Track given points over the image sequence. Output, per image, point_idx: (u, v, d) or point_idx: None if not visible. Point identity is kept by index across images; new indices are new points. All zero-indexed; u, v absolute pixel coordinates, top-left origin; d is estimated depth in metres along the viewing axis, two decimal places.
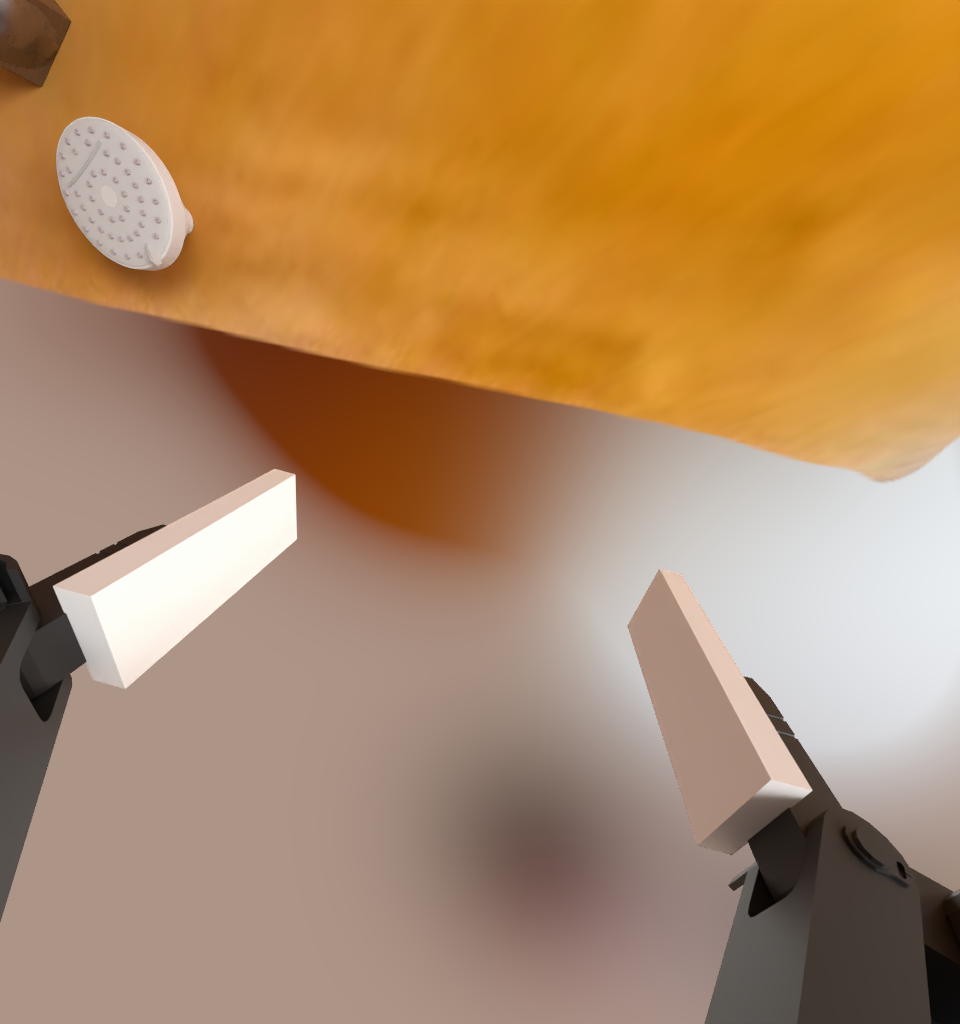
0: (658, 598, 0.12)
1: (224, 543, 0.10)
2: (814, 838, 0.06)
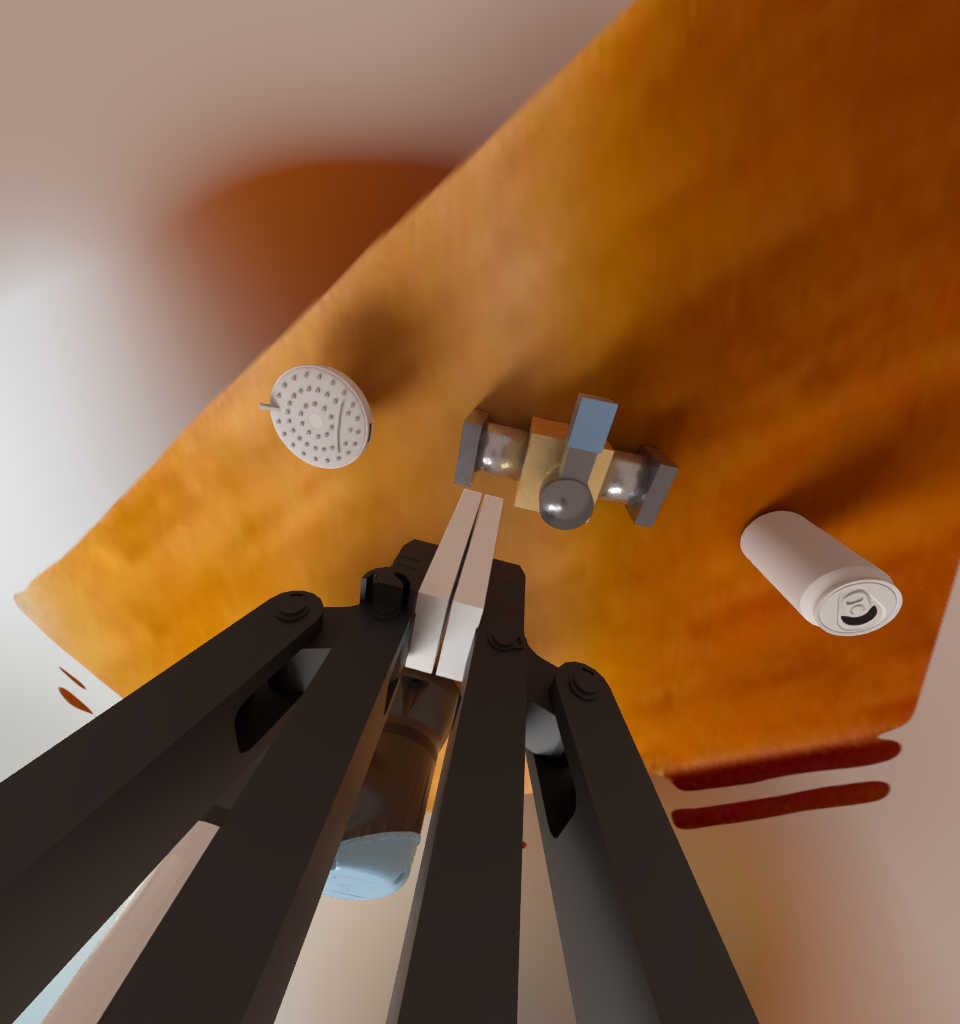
0: None
1: (464, 554, 0.12)
2: (472, 653, 0.08)
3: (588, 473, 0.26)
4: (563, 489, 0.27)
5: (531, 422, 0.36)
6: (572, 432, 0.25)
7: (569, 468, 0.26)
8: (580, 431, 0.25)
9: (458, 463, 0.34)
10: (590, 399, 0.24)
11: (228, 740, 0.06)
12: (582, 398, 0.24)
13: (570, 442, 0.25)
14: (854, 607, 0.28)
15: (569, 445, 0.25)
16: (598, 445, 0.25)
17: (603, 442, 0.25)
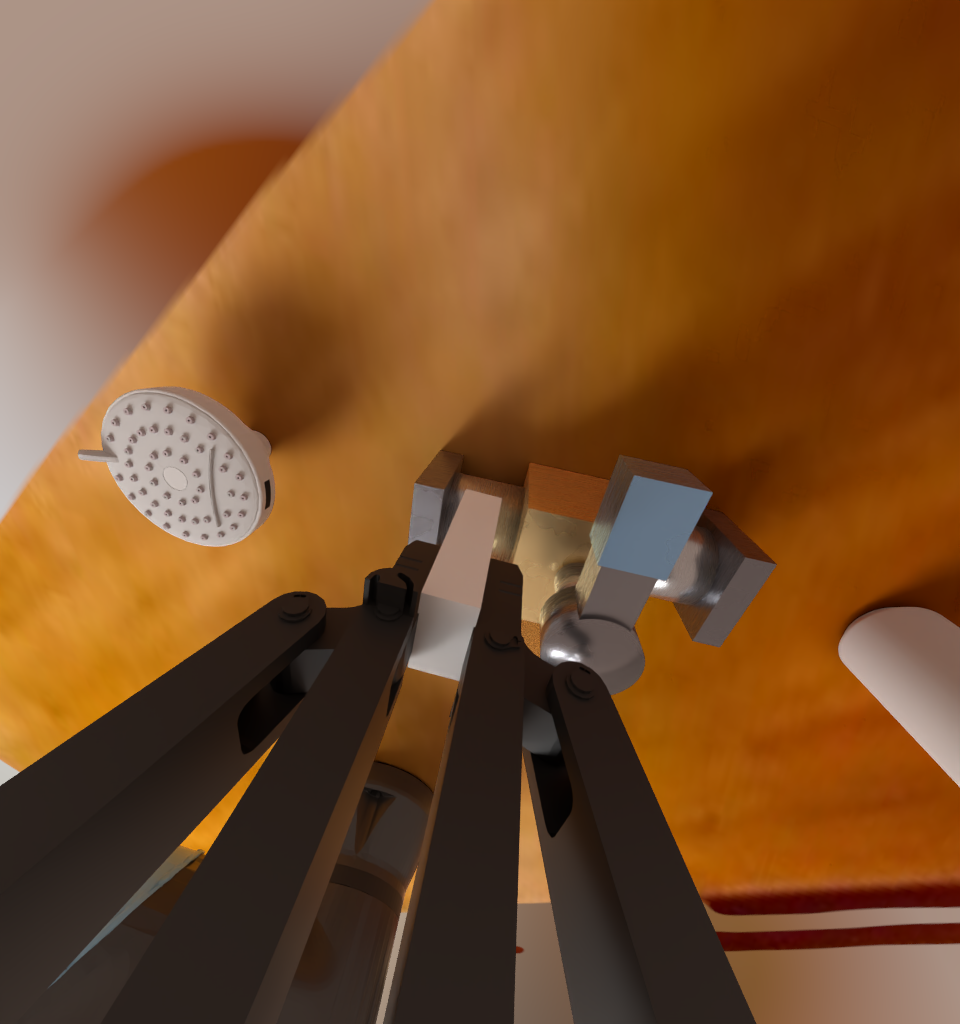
0: None
1: None
2: (468, 653, 0.08)
3: (636, 610, 0.13)
4: (587, 636, 0.14)
5: (527, 473, 0.23)
6: (608, 540, 0.12)
7: (598, 601, 0.13)
8: (625, 539, 0.12)
9: None
10: (651, 479, 0.11)
11: (231, 740, 0.06)
12: (633, 477, 0.11)
13: (604, 558, 0.12)
14: None
15: (601, 563, 0.13)
16: (661, 566, 0.12)
17: (672, 561, 0.12)
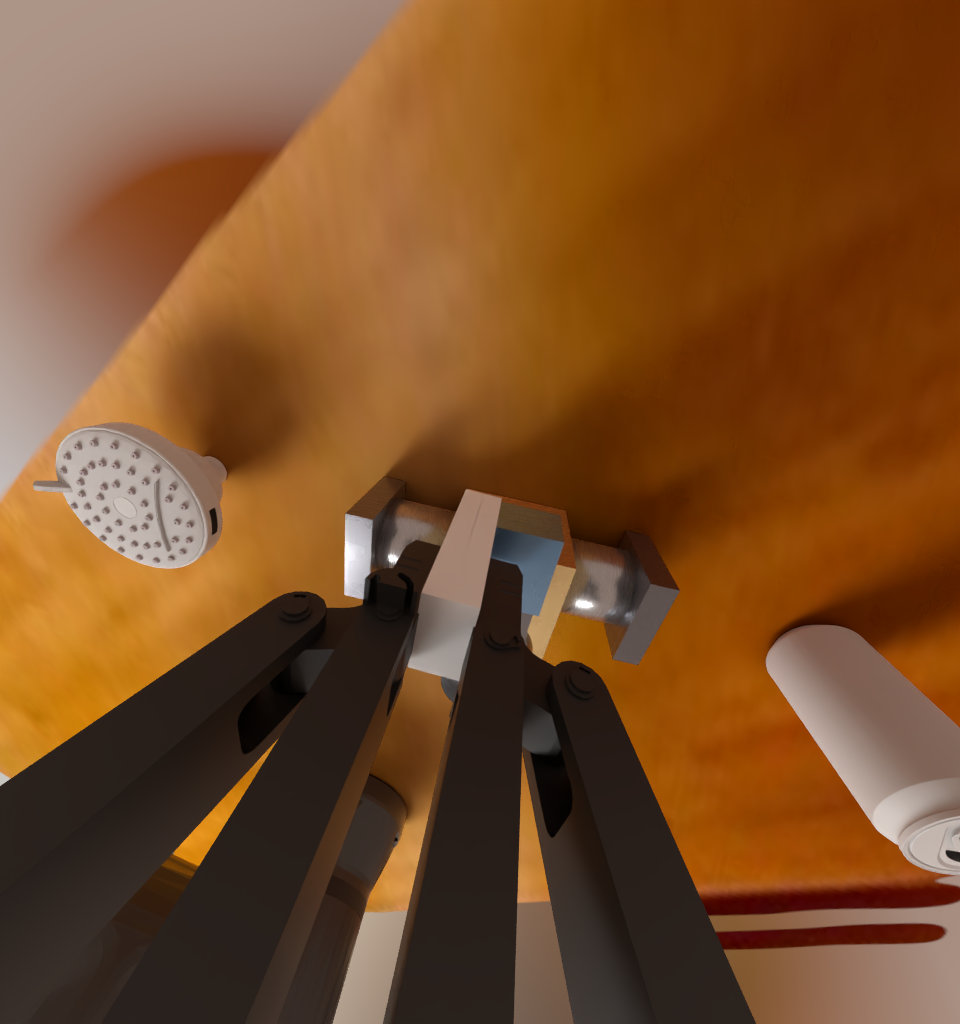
0: None
1: None
2: (468, 653, 0.08)
3: None
4: None
5: None
6: None
7: None
8: None
9: (346, 569, 0.22)
10: (511, 530, 0.12)
11: (231, 740, 0.06)
12: (496, 528, 0.12)
13: None
14: None
15: None
16: (532, 603, 0.14)
17: (541, 599, 0.14)
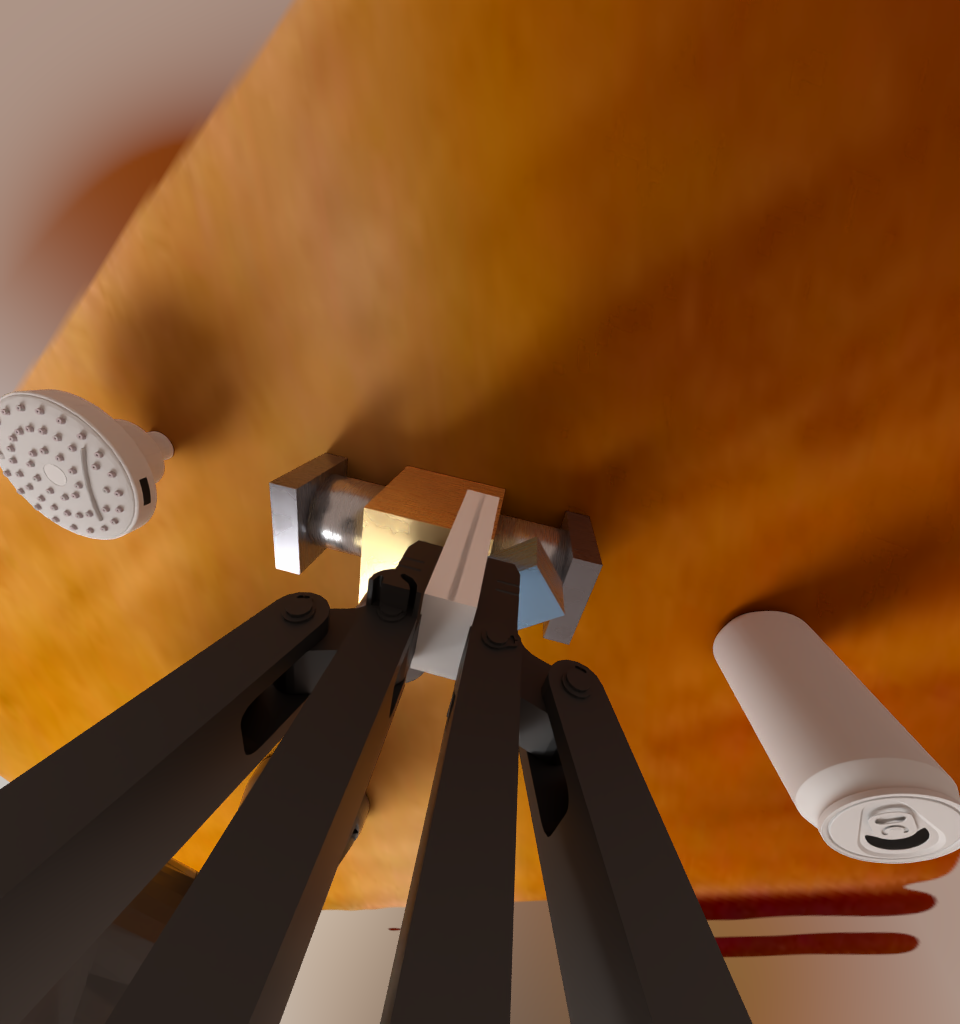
0: None
1: None
2: (465, 652, 0.08)
3: None
4: None
5: None
6: None
7: None
8: None
9: (275, 541, 0.22)
10: (542, 576, 0.13)
11: (234, 741, 0.06)
12: (534, 566, 0.13)
13: None
14: (889, 827, 0.16)
15: None
16: None
17: None
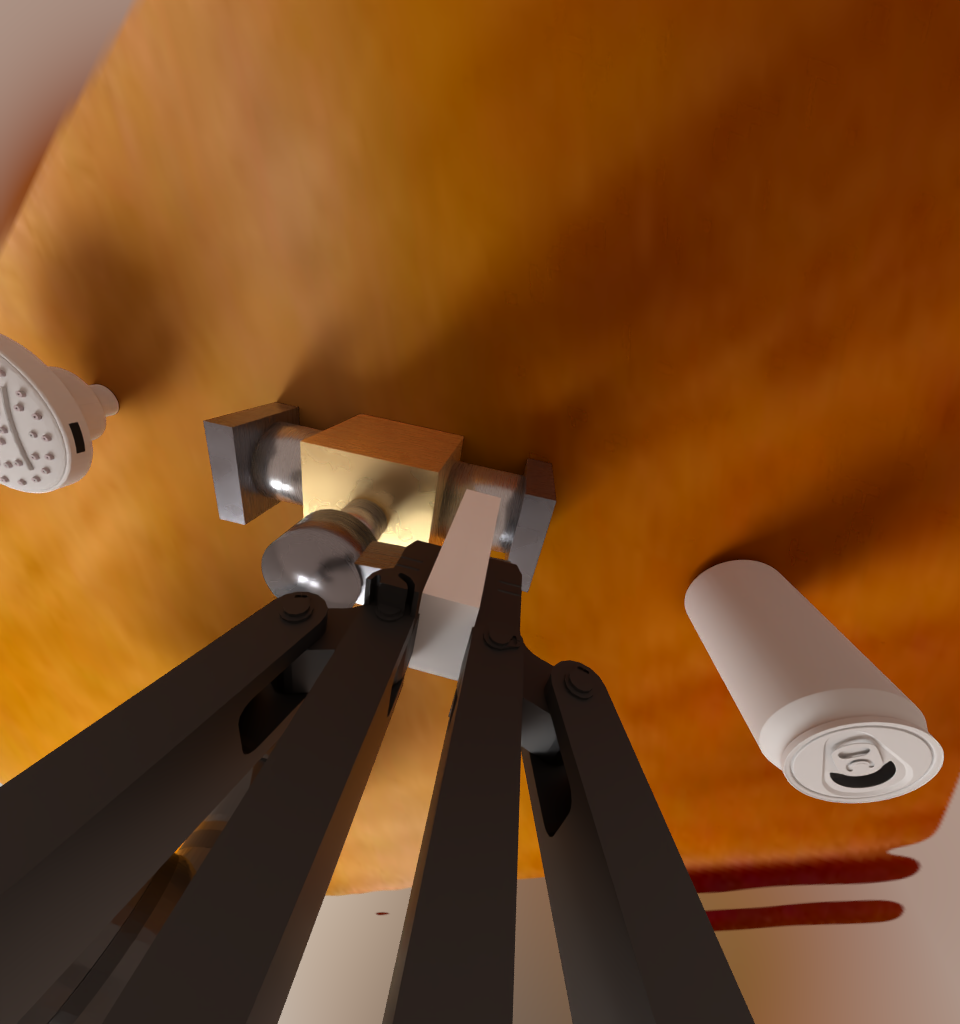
0: None
1: None
2: (468, 652, 0.08)
3: None
4: (339, 574, 0.14)
5: None
6: None
7: None
8: None
9: (216, 488, 0.21)
10: None
11: (232, 740, 0.06)
12: None
13: None
14: (853, 762, 0.16)
15: None
16: None
17: None
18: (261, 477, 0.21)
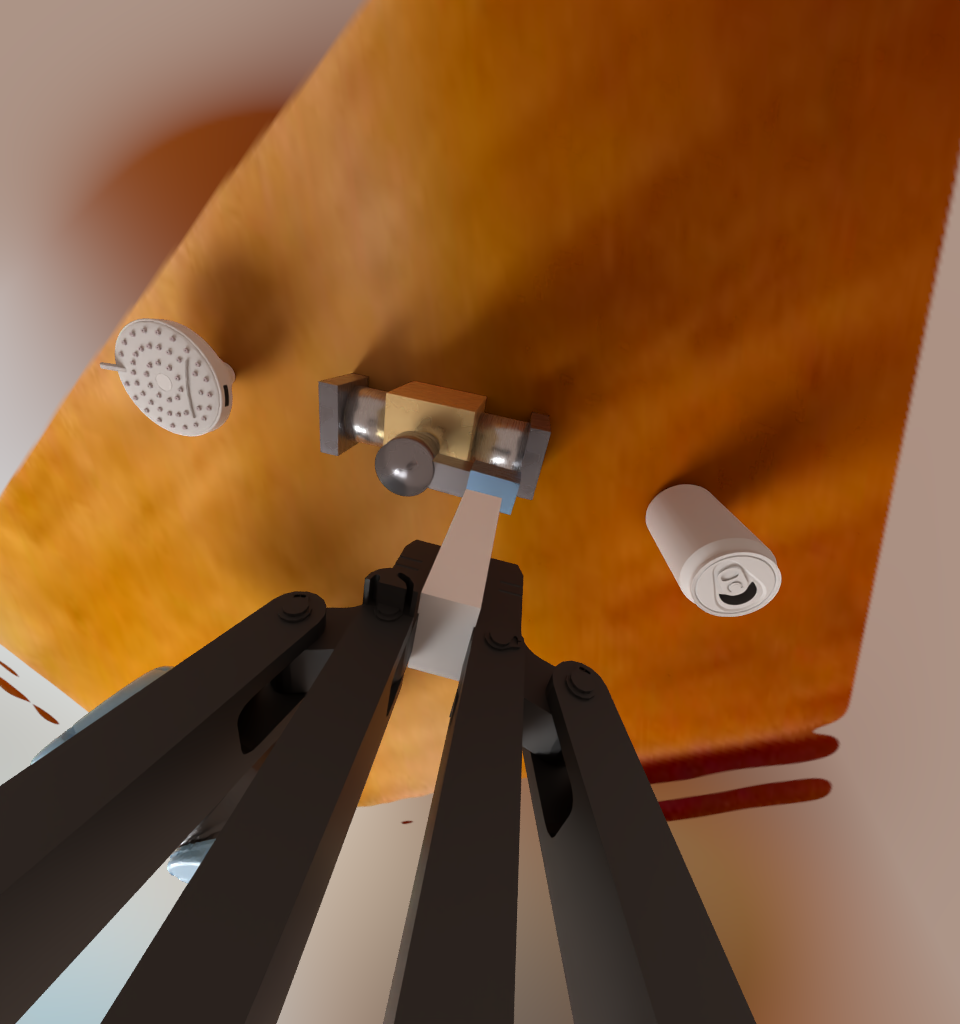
0: None
1: None
2: (468, 653, 0.08)
3: (441, 489, 0.25)
4: (422, 466, 0.24)
5: None
6: (485, 474, 0.24)
7: (446, 471, 0.24)
8: (486, 482, 0.24)
9: (321, 429, 0.31)
10: (517, 490, 0.24)
11: (231, 740, 0.06)
12: (518, 483, 0.24)
13: (474, 473, 0.24)
14: (731, 584, 0.25)
15: (471, 472, 0.24)
16: None
17: None
18: (350, 422, 0.31)
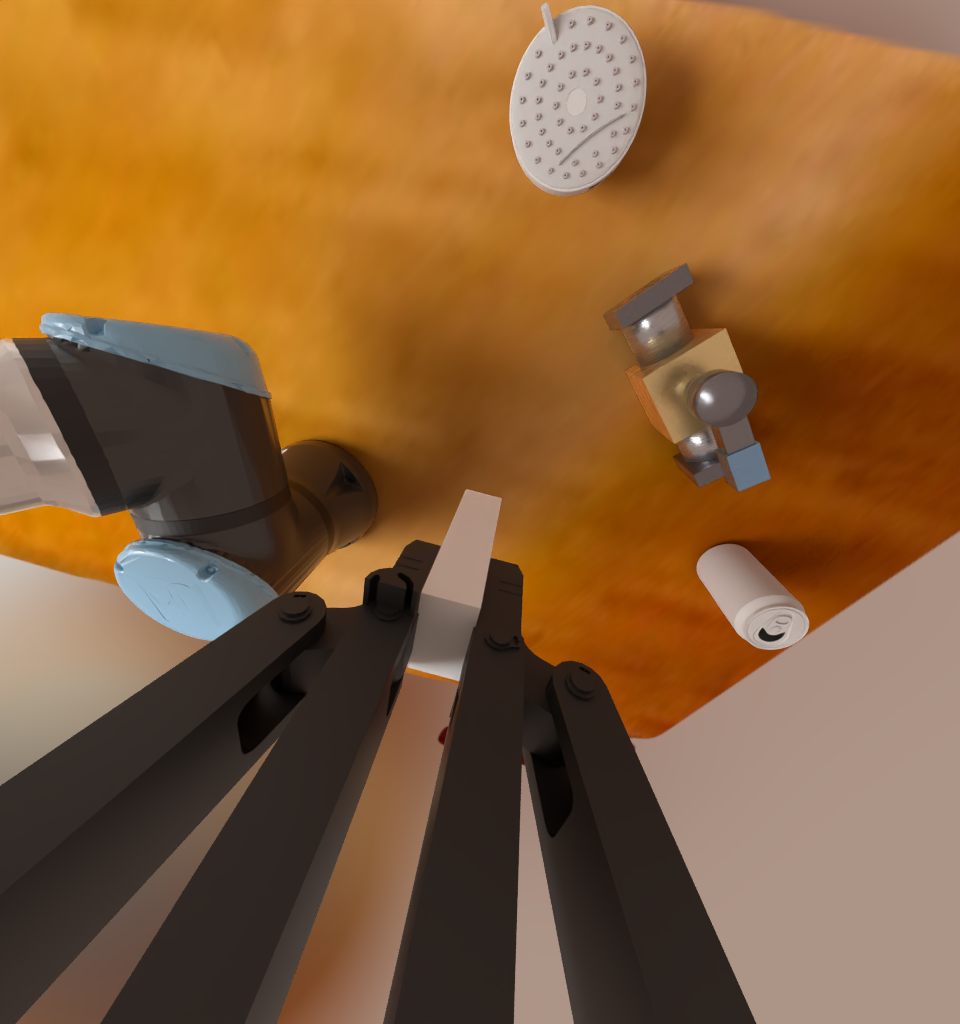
0: None
1: None
2: (468, 652, 0.08)
3: (724, 436, 0.29)
4: (740, 411, 0.27)
5: (692, 331, 0.35)
6: (761, 454, 0.29)
7: (744, 428, 0.28)
8: (755, 459, 0.29)
9: (639, 297, 0.30)
10: (762, 480, 0.30)
11: (231, 740, 0.06)
12: (769, 477, 0.29)
13: (758, 447, 0.28)
14: (775, 626, 0.36)
15: (758, 444, 0.28)
16: (733, 460, 0.29)
17: (730, 464, 0.29)
18: (655, 314, 0.32)
